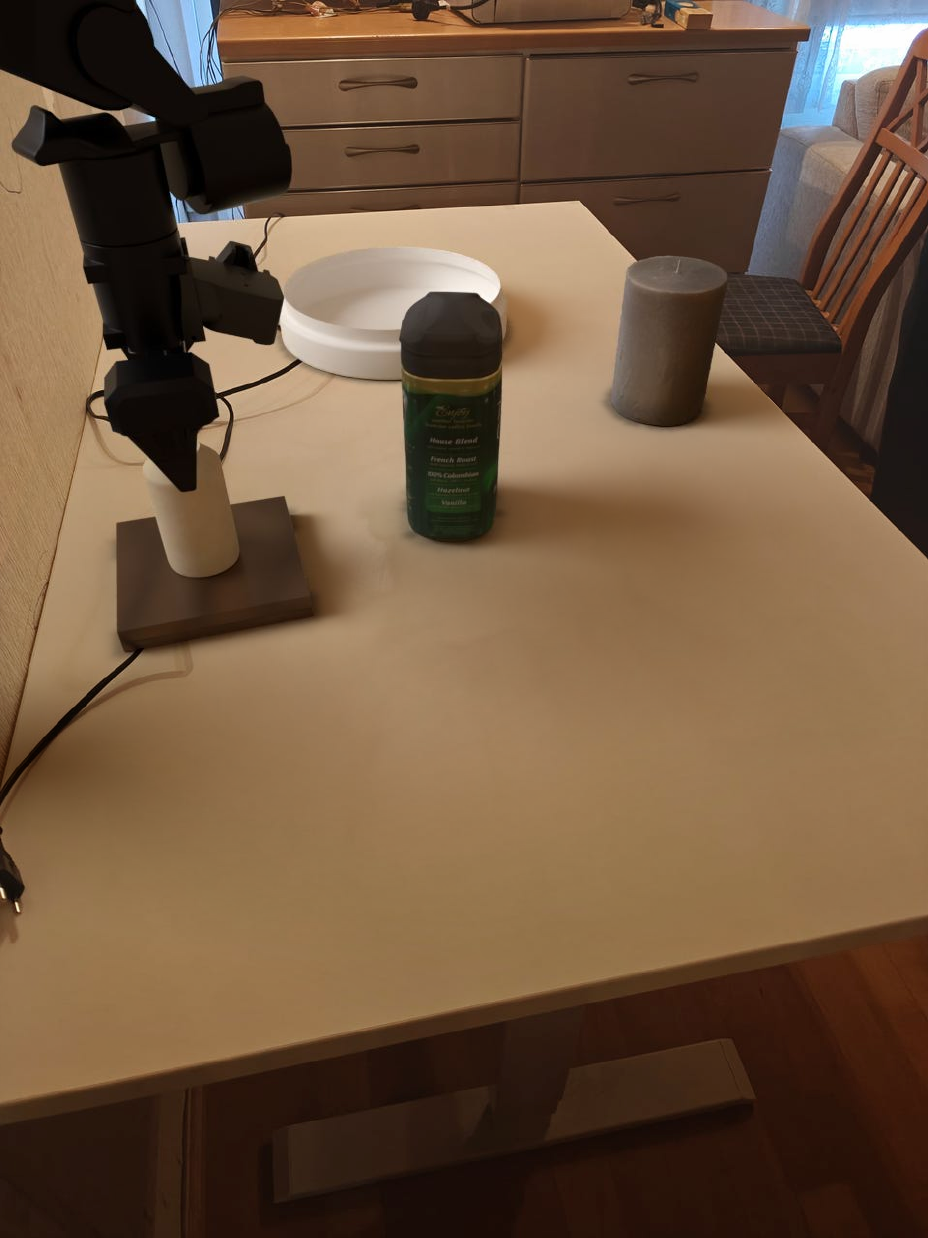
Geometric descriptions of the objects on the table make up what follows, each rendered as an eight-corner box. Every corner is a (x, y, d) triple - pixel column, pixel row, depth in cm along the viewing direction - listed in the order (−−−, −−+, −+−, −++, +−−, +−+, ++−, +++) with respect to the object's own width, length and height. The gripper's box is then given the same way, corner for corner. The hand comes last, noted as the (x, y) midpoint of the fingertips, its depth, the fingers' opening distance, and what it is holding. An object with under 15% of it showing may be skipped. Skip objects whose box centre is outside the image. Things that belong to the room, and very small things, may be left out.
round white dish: (525, 297, 113) (528, 254, 109) (476, 393, 93) (477, 344, 89) (329, 278, 118) (325, 236, 114) (244, 365, 98) (236, 318, 94)
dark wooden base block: (123, 652, 64) (116, 632, 62) (122, 541, 74) (115, 522, 72) (313, 615, 67) (310, 595, 65) (287, 514, 77) (284, 495, 75)
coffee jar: (498, 546, 73) (506, 334, 61) (404, 545, 73) (392, 333, 61) (497, 483, 80) (503, 281, 68) (411, 482, 80) (402, 280, 68)
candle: (167, 542, 70) (136, 432, 63) (236, 530, 71) (212, 421, 65) (171, 584, 66) (138, 471, 59) (244, 571, 67) (220, 459, 61)
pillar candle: (719, 419, 89) (752, 271, 79) (632, 433, 87) (654, 283, 77) (676, 377, 96) (701, 236, 86) (594, 389, 94) (610, 246, 84)
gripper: (285, 271, 47) (317, 509, 58) (247, 176, 61) (279, 383, 71) (69, 295, 45) (143, 538, 55) (78, 190, 58) (137, 402, 69)
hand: (184, 456), depth 63 cm, fingers open, 9 cm apart
